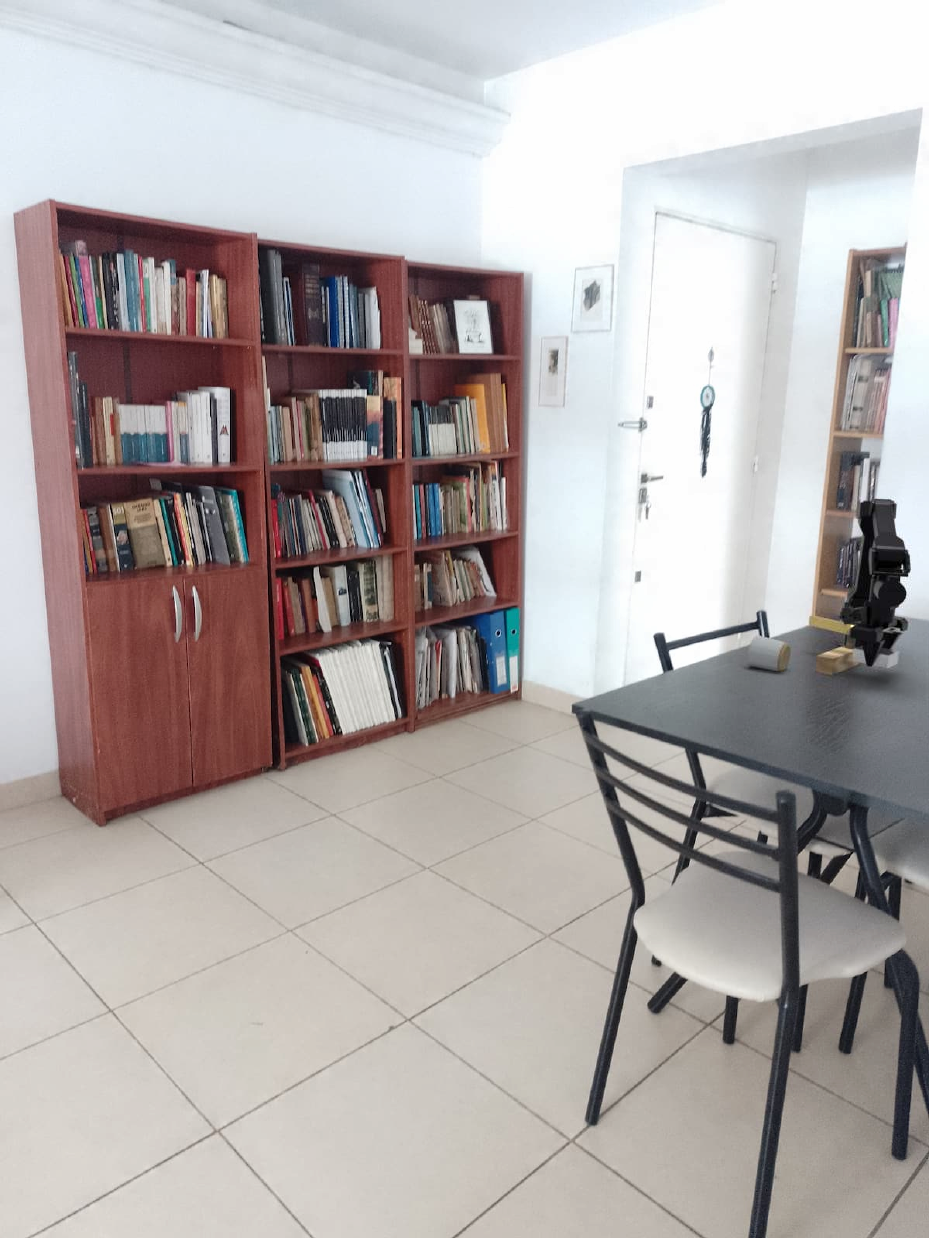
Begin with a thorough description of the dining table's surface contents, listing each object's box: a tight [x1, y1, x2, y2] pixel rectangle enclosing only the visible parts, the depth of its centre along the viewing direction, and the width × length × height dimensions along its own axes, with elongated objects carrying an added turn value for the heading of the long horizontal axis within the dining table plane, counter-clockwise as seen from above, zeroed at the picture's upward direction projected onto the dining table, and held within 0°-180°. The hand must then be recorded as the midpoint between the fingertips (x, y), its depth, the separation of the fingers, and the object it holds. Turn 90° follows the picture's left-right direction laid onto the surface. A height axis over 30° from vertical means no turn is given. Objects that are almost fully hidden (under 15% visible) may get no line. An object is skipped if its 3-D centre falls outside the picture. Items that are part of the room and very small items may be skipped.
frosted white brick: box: [852, 645, 900, 669], centre depth 212 cm, size 8×6×3 cm
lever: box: [808, 615, 857, 635], centre depth 229 cm, size 13×3×2 cm, turn 34°
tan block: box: [815, 635, 860, 676], centre depth 221 cm, size 15×4×7 cm, turn 134°
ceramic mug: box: [747, 634, 791, 672], centre depth 221 cm, size 11×8×8 cm
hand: (874, 663), depth 212 cm, fingers closed on frosted white brick, 6 cm apart
